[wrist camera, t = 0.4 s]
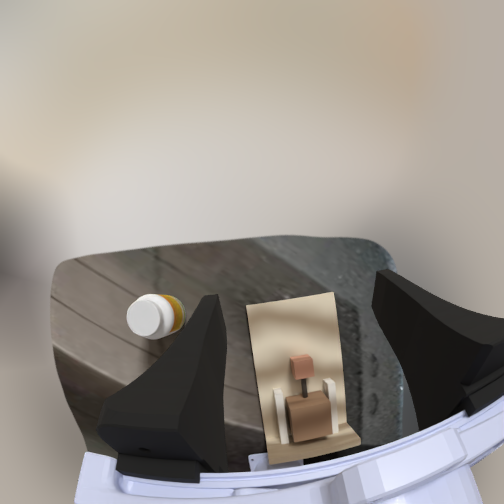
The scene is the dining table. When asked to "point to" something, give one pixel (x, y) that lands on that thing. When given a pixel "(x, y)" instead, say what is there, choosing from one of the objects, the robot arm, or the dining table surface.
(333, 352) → the shelf lane
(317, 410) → the walnut block
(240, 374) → the dining table surface
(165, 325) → the supplement bottle
